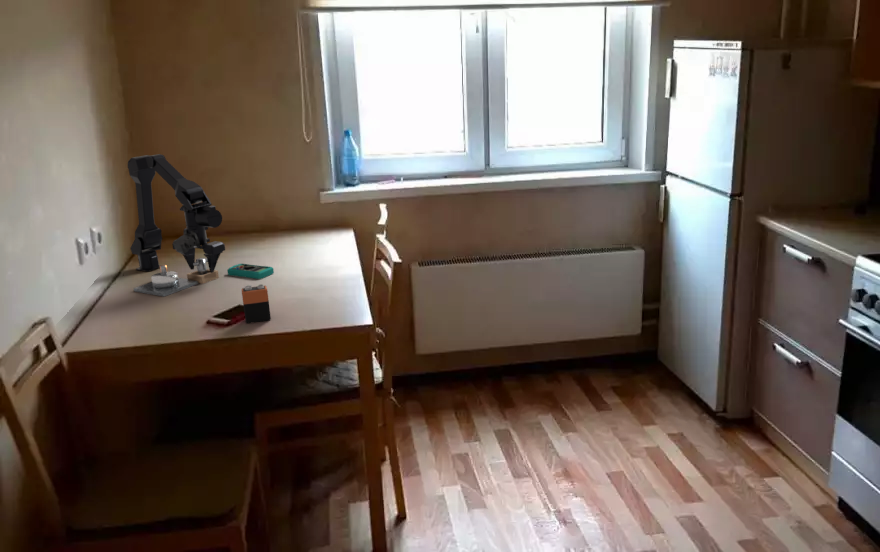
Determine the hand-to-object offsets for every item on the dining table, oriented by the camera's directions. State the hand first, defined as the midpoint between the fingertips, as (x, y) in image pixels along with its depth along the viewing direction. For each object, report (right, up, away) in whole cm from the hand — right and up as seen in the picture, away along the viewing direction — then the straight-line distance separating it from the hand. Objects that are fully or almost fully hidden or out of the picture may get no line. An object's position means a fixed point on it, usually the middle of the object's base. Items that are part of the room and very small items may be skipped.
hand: (202, 270), depth 256 cm
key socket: (0, -3, +1) cm, 3 cm away
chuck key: (0, -3, +1) cm, 3 cm away
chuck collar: (-11, -3, -2) cm, 12 cm away
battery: (+28, -14, -39) cm, 50 cm away
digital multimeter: (+15, -2, +5) cm, 16 cm away
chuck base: (-10, -5, -6) cm, 12 cm away
